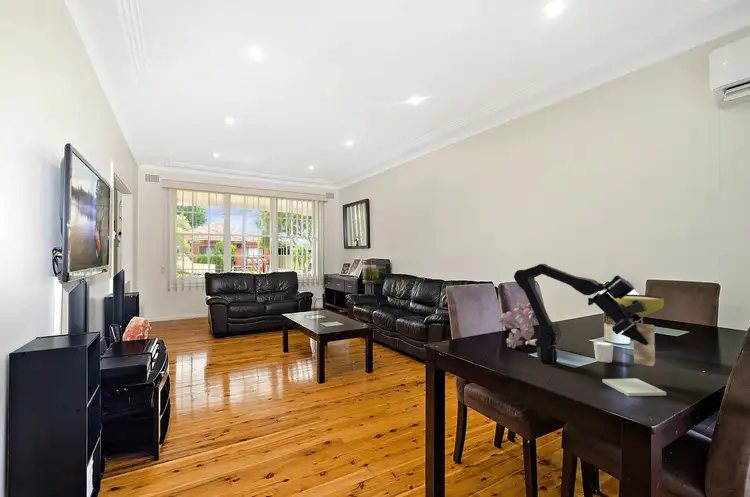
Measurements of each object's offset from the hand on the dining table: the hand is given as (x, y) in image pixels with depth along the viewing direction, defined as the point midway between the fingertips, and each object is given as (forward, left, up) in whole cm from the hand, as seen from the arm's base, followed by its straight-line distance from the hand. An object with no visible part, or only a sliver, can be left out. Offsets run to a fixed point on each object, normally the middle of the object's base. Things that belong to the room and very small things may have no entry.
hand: (649, 343), depth 120 cm
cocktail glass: (+22, +33, -14) cm, 42 cm away
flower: (-23, +48, -14) cm, 55 cm away
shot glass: (+1, +25, -14) cm, 29 cm away
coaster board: (-10, -5, -13) cm, 17 cm away
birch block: (-1, +1, -7) cm, 7 cm away
